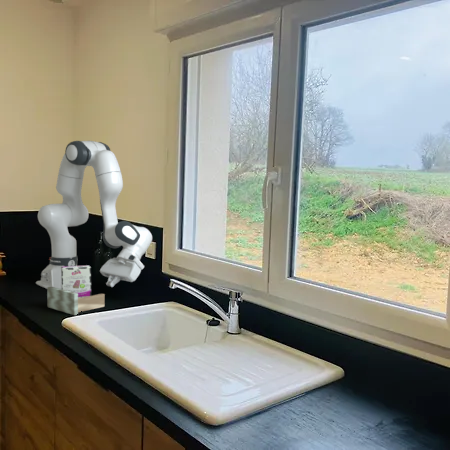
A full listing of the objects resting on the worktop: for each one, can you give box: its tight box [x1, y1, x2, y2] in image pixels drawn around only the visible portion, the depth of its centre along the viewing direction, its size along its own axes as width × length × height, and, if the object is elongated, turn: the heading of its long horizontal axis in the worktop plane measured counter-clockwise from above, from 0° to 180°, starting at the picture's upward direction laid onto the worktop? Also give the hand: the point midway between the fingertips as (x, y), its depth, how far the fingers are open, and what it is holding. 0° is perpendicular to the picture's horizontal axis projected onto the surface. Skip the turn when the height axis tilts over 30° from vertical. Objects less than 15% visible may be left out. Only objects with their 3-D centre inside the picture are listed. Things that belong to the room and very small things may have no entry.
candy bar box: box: [61, 264, 92, 298], centre depth 201 cm, size 11×5×16 cm, turn 111°
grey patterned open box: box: [46, 286, 106, 316], centre depth 202 cm, size 18×16×8 cm
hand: (109, 285), depth 213 cm, fingers closed
